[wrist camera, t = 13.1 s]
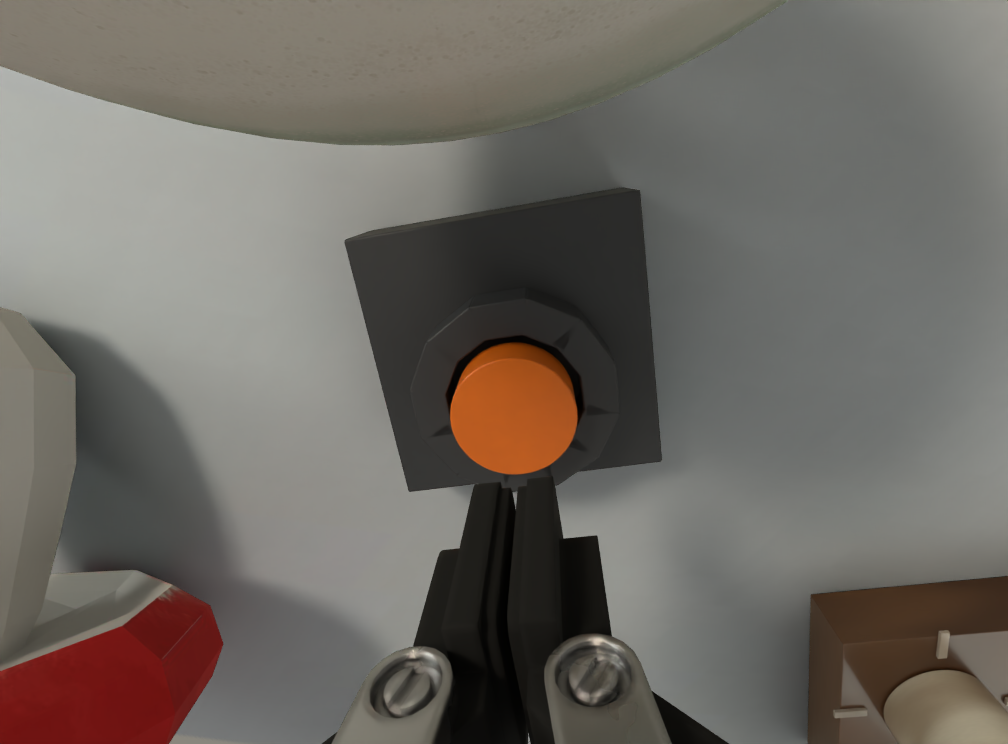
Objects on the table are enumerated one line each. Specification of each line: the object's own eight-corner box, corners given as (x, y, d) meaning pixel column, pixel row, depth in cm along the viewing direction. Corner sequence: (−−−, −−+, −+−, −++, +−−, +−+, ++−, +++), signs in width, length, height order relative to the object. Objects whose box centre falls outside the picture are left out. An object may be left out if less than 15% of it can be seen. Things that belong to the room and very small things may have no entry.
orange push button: (565, 333, 18) (569, 349, 16) (580, 442, 19) (584, 467, 18) (446, 351, 18) (437, 368, 17) (468, 456, 20) (462, 482, 18)
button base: (625, 187, 21) (651, 190, 16) (646, 426, 24) (674, 487, 19) (369, 230, 22) (324, 246, 17) (423, 454, 25) (397, 519, 20)
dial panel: (1083, 563, 25) (1157, 615, 22) (1048, 725, 29) (1108, 789, 26) (803, 589, 26) (838, 642, 23) (801, 742, 30) (831, 805, 27)
